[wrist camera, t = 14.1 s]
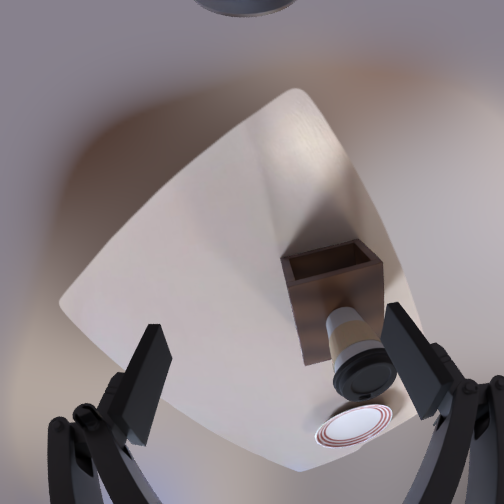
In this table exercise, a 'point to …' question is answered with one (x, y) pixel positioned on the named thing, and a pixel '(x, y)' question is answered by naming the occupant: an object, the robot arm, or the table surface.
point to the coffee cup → (357, 357)
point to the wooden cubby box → (333, 292)
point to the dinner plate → (354, 426)
